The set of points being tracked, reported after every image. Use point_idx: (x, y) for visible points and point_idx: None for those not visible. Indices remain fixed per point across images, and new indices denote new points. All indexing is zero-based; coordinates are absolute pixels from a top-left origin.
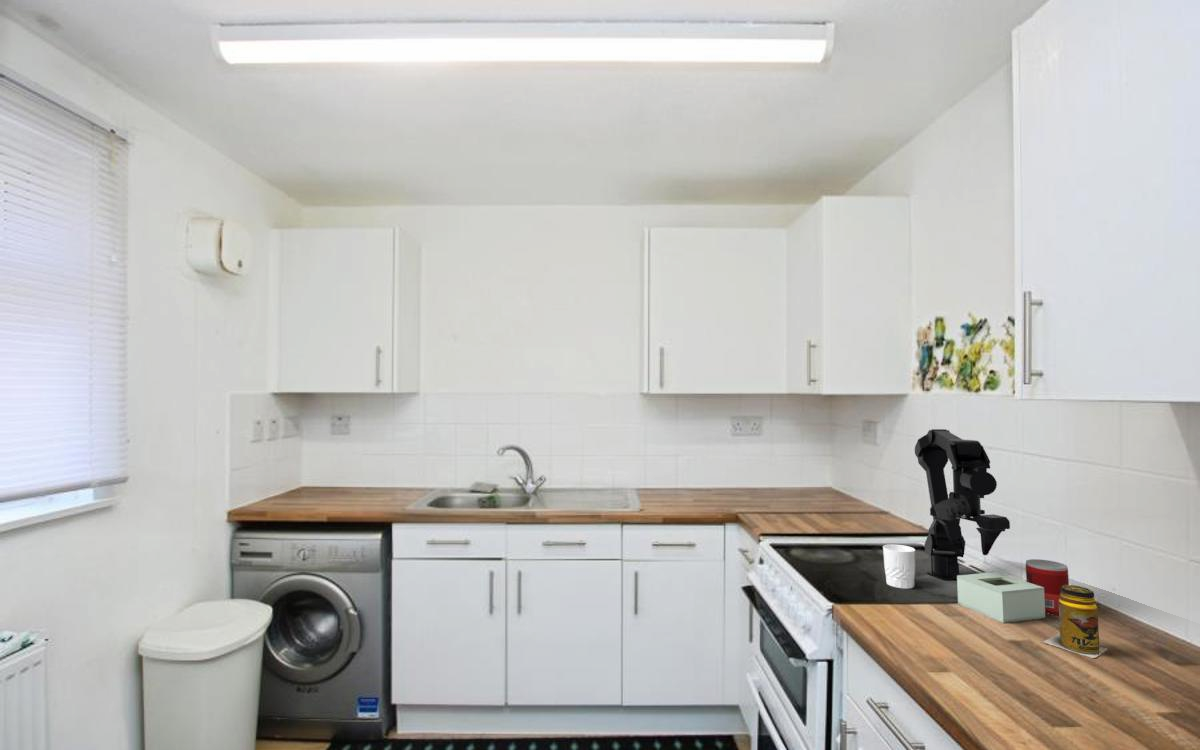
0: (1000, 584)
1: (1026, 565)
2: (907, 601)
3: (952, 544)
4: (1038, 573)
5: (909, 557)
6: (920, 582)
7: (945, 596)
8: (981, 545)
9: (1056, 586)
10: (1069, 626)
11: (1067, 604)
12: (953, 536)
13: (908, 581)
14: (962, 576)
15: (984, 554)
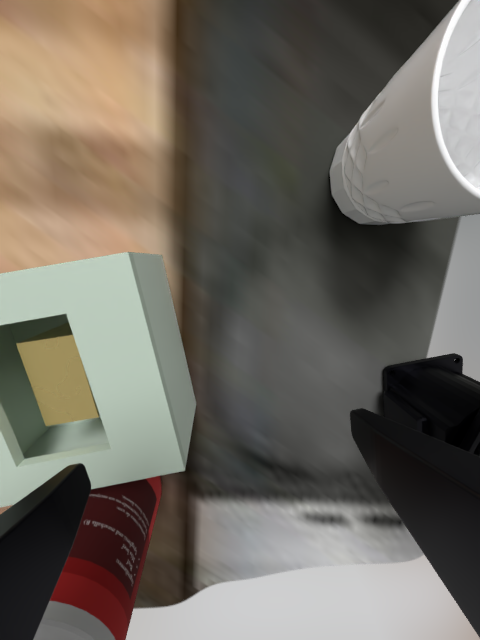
0: (96, 410)
1: (67, 596)
2: (195, 70)
3: (354, 414)
4: None
5: (403, 119)
6: (384, 273)
7: (240, 265)
8: (16, 524)
9: None
10: None
11: None
12: (403, 480)
13: (340, 169)
14: (112, 271)
15: (65, 470)
